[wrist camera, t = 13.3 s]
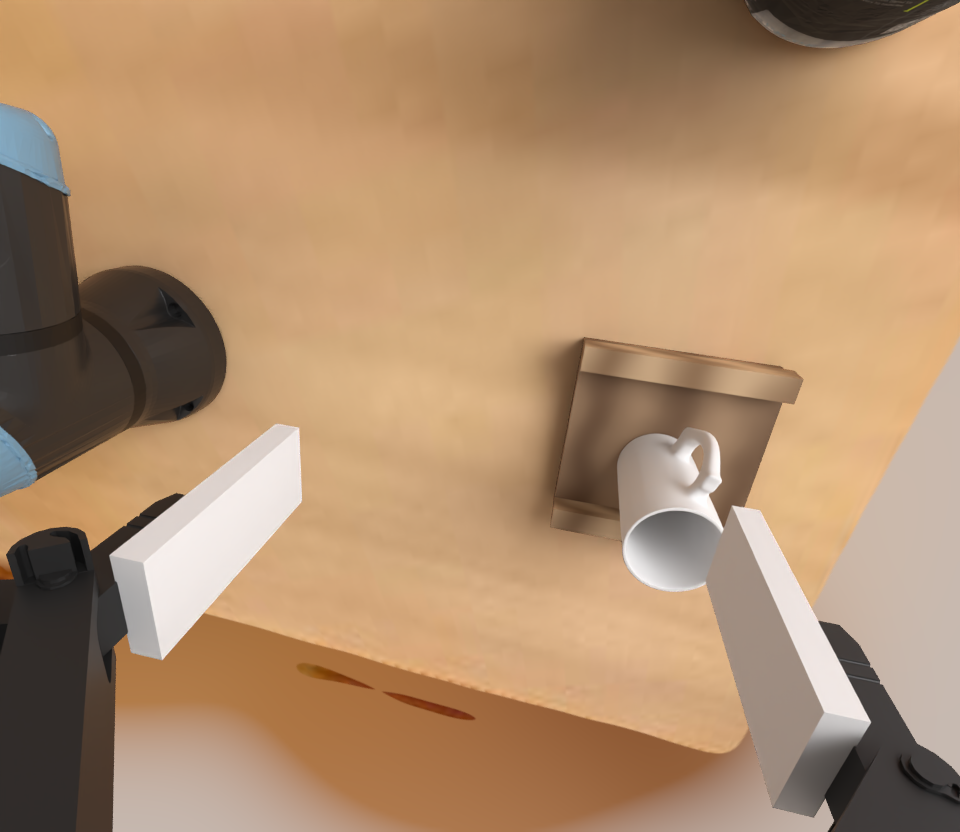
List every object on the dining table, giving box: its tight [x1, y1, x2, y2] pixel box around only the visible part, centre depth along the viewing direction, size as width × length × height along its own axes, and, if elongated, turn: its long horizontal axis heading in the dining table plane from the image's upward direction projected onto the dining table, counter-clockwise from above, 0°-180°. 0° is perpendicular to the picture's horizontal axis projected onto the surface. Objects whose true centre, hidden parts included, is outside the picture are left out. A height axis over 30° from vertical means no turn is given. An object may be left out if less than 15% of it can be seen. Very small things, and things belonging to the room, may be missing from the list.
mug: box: [617, 428, 723, 592], centre depth 41 cm, size 10×7×12 cm, turn 158°
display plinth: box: [550, 337, 804, 541], centre depth 46 cm, size 16×17×4 cm
